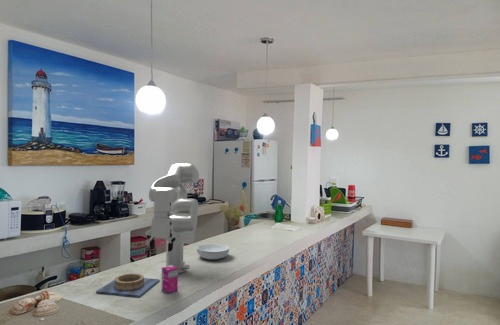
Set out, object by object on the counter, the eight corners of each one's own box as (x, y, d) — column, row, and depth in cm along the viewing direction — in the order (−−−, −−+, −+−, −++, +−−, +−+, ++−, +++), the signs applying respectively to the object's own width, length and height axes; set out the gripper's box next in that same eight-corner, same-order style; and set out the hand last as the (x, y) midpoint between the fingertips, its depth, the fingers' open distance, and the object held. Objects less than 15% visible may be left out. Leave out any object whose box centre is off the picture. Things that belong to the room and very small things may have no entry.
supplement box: (160, 290, 178) (161, 267, 178) (171, 287, 183) (171, 264, 182) (167, 294, 174) (167, 270, 174) (178, 291, 179) (178, 267, 178)
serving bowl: (224, 264, 223) (224, 252, 223) (191, 261, 228) (191, 250, 227) (232, 254, 244) (233, 244, 244) (202, 252, 248) (202, 242, 248)
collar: (159, 281, 191) (159, 272, 191) (139, 297, 169) (139, 287, 169) (120, 277, 195) (120, 269, 195) (96, 293, 173) (96, 283, 173)
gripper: (181, 214, 179) (180, 249, 180) (150, 212, 184) (149, 246, 184) (174, 217, 172) (173, 253, 172) (141, 214, 177) (141, 250, 177)
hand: (161, 249), depth 178 cm, fingers open, 9 cm apart
